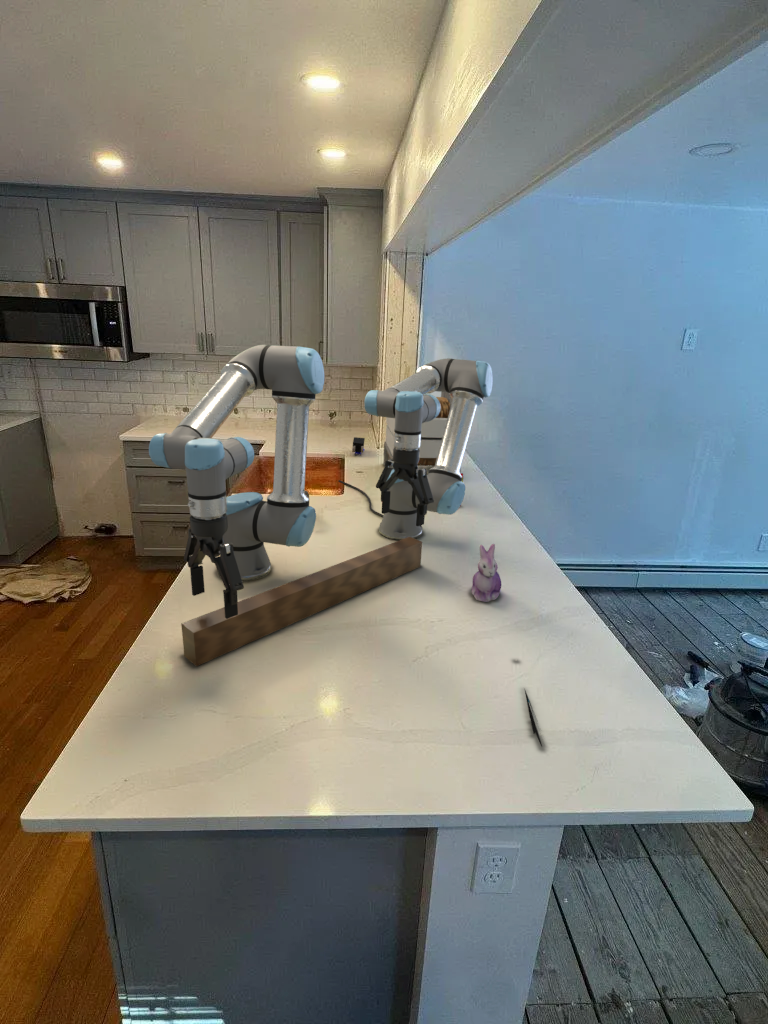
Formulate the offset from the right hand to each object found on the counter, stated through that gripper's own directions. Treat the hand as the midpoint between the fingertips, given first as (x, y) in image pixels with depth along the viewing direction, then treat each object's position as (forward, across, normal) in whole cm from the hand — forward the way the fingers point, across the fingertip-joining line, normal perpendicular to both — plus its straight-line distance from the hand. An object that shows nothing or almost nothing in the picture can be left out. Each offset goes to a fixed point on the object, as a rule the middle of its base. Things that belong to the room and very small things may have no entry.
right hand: (402, 518), depth 166 cm
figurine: (+17, +27, +6) cm, 32 cm away
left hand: (+6, 0, -62) cm, 62 cm away
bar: (+17, 0, -31) cm, 35 cm away
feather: (+17, +59, -26) cm, 66 cm away
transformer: (+16, -66, +88) cm, 111 cm away
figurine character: (+16, -112, +92) cm, 145 cm away
